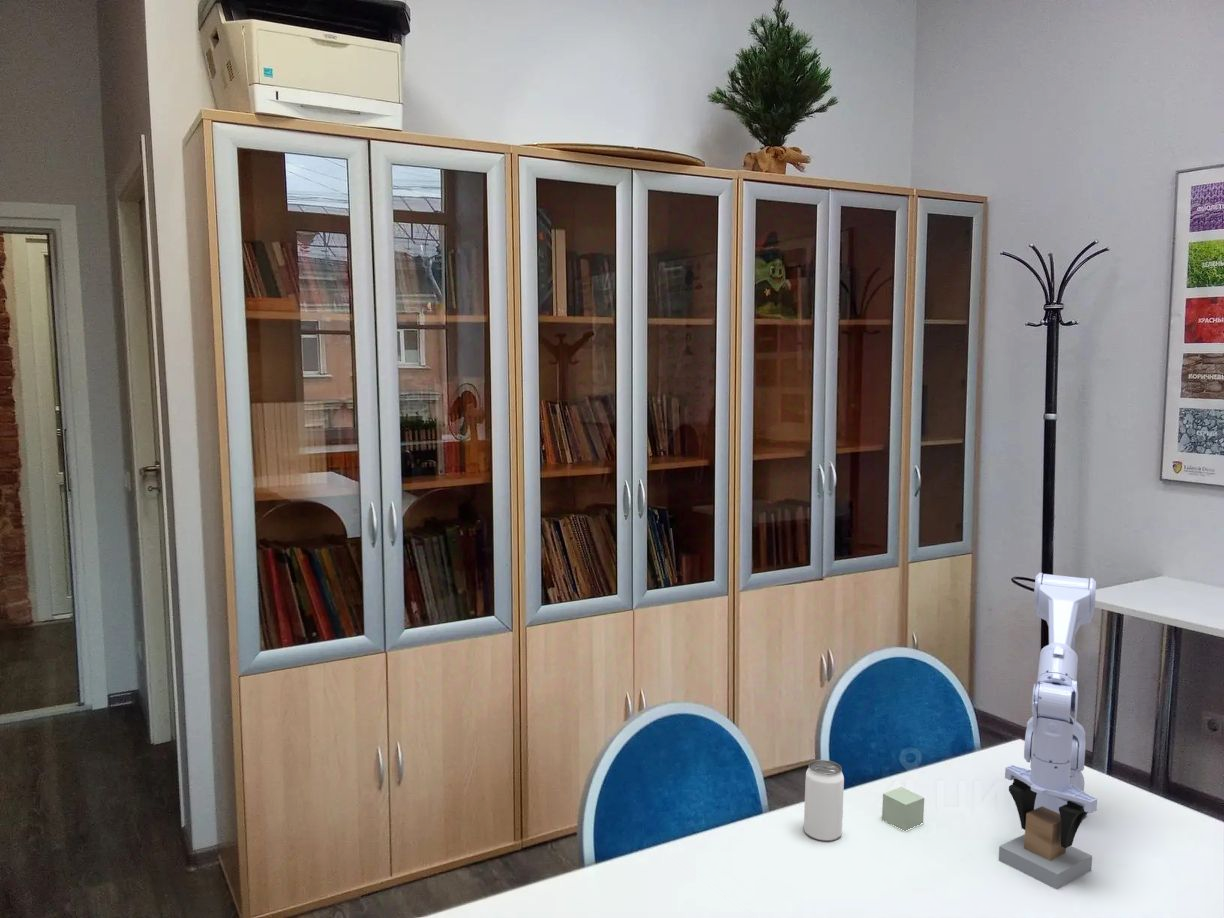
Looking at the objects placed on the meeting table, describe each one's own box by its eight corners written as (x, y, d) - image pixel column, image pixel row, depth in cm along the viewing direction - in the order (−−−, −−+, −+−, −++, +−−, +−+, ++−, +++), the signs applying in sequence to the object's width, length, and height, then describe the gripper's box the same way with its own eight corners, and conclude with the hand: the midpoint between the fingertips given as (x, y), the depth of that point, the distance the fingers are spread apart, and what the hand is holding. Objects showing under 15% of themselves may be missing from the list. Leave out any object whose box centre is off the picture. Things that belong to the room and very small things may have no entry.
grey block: (1033, 846, 156) (1034, 829, 155) (1091, 873, 147) (1092, 855, 147) (998, 863, 150) (999, 846, 150) (1056, 892, 142) (1057, 874, 141)
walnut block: (1039, 840, 152) (1042, 806, 151) (1065, 852, 148) (1068, 817, 147) (1023, 848, 149) (1026, 813, 148) (1050, 860, 145) (1052, 825, 145)
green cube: (900, 813, 166) (901, 786, 165) (923, 824, 162) (924, 797, 161) (881, 820, 163) (883, 793, 163) (904, 832, 159) (906, 804, 158)
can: (842, 844, 154) (845, 776, 153) (803, 839, 156) (806, 772, 154) (840, 825, 161) (843, 760, 160) (803, 821, 162) (805, 756, 161)
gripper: (996, 746, 151) (991, 824, 152) (1082, 779, 139) (1076, 863, 140) (1020, 736, 154) (1016, 813, 156) (1106, 768, 143) (1100, 850, 144)
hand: (1046, 836), depth 148 cm, fingers open, 6 cm apart
